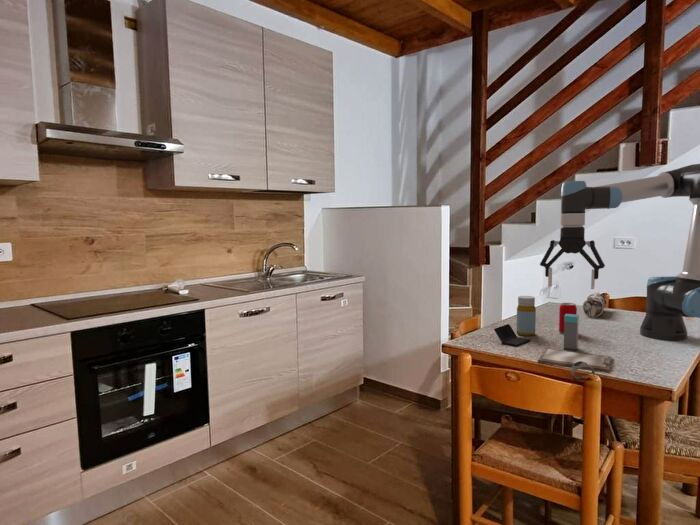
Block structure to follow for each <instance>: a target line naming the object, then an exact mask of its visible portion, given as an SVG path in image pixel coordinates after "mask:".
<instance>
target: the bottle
mask: <svg viewBox="0 0 700 525" xmlns="http://www.w3.org/2000/svg"><path fill="white" fill-rule="evenodd" d="M535 301H536V298H535V296H531V295H519V296H518V298H517V307H516V334H517V335H519V336H523V337H533V336H535V334H536V322H537V321H536V320H537V319H536V318H537V317H536V316H537V315H536V314H537V313H536V309H537V308H536V306H535V305H536V304H535Z"/></svg>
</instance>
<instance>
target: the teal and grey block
mask: <svg viewBox="0 0 700 525" xmlns="http://www.w3.org/2000/svg"><path fill="white" fill-rule="evenodd" d="M579 317H580V314H577V315H574V314H565V316H564V334H563V351H571V352H577V350H578V345H579V319H580V318H579Z"/></svg>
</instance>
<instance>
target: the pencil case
mask: <svg viewBox="0 0 700 525" xmlns="http://www.w3.org/2000/svg"><path fill="white" fill-rule="evenodd" d="M607 302H608V300H607V298H606V296H605V295H604V294H602V293H600V292H598V291H597V292H593V293H590V295H589V296H587V297H586V300H584V302H583V303H582V311H583V313H584V315H585V316H586V317H588V318H591V319H596V318H599V316H601V315H602V314H603V312H604V309H606V308H605V307H606V305H607Z"/></svg>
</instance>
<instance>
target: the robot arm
mask: <svg viewBox="0 0 700 525" xmlns="http://www.w3.org/2000/svg"><path fill="white" fill-rule="evenodd" d="M560 196H561V197H560V198H561V200H560V201H561V202H560V203H561V204H560V205H561V206H560V226H561V227H560V231H559V233H560V234H559V235H560V236H559V238H560V239H559V240H554V239H552V240H550V242H549V247H548V249H547V250H546V253H545V254H544V256H543V258H542V259H541V261H540V264H539V266H541V267H544V268H545V271H544V272H545V273H544V274H545V277H547V278H548V282H547V283H548V284H547V285H548V286H547V287H553V285H552V284H553V267H551V266H552V265H554V263H555V262H556V261H557V260H558V259H559V258H560V257H561V256H562V255H563V254H564V253H565V254H578V253H579V254H580V255H581V256H582V257H583V259H585V260H586V261H587V263H589V265H590V266H591V267H592V268H593V269H591V279H590V280H591V281H590V289H591V290H594V289H595V280H598V279H599V270H600V269H605V266H606V264H605V263H604V261H603V259H602V257H601V255H600V253H599V251H598V250H597V248H596V243H595V241H594V240H590V241H589V240H587V241H586V240H585V234H586V233H585V229H586V228H585V227H584V226H585V225H586V224H585V223H586V210H599V209H603V210H605V209H607V210H609V209H617V208H618V207H619V206H620V205H621V204H622V203H627V202H633V201H638V200H644V199H651V198H657V197H660V198H662V199H663V198H664V199H667V198H672V197H674V198H675V197H677V198H678V197H689V199H688V200H689V202H690V203H692V205H693V206H692V207H693V208H692V213H691V219H690V225H689V230H688V237H687V243H686V249H685V254H684V260H683V266H682V271H681V273H679V274H677V275H675V276H668V275H667V276H651V277H649V278H647V282H646V302H645V303H646V307H645V309H646V310H645V311H646V312H645V316H644V318H643V320H642V323H641V325H640V327H639V334H640V335H641V336H644V337H646V338H650V339H657V340H664V341H684V340H686V339H688V329H687V327H686V324H685V320H684V315H686V316H687V317H689V318H696V319H697V318H698V319H700V163H695V164H690V165H686V166H682V167H679V168H676V169H672V170H667V171H663V172H660V173H659V174H657V175H655V176H650V177H644V178H638V179H632V180H628V181H627V180H625V181H621V182H615V183H611V184H610V183H609V184H603V185H598V186H587V182H586V181H585V180H571V181H564V182H563V183H562V185H561V191H560ZM558 245H559V247H560V248H561V249H559V250H558V252H557V253H556V254H555V255H554V256H552V258H551V259H550V260H549V261H548V259H549V257H550V256H551V254H552V252H553V250H554V249H555V247H557V246H558ZM586 245H587V247H588V248H590V250H591V252H592V254H593V255H594V258H595V260H596V261H597V263H598V264H597V263H596V262H595V261H594V259H592V258H591V256H590V255H589V254H588V253H587V252H586V250H584V247H586Z"/></svg>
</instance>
